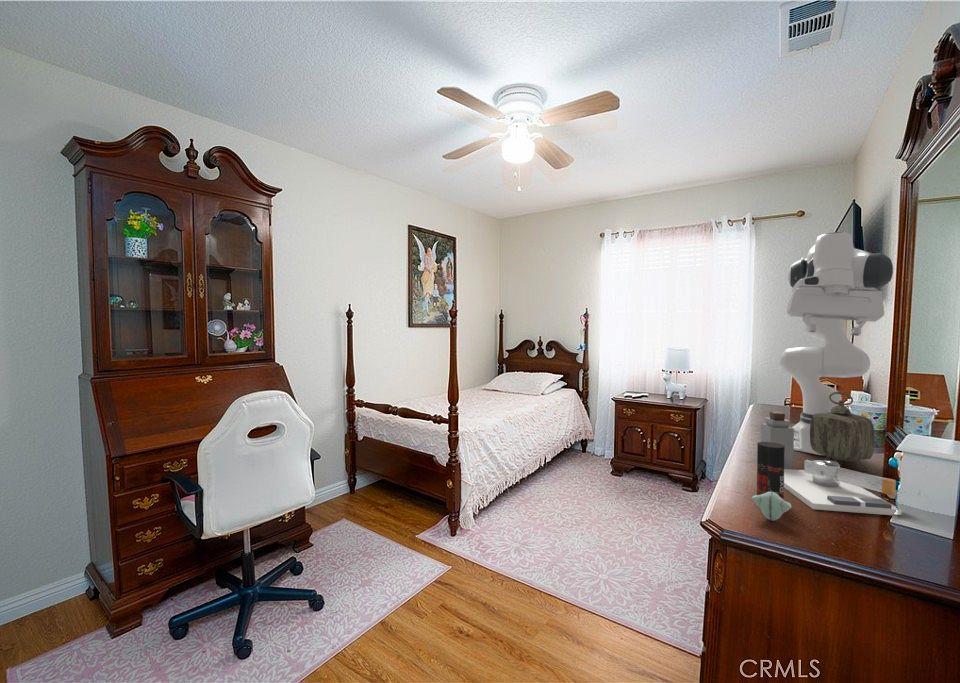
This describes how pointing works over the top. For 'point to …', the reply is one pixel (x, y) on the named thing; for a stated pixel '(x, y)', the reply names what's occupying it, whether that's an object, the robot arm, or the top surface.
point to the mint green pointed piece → (771, 505)
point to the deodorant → (770, 468)
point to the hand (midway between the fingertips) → (833, 333)
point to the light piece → (846, 476)
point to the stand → (834, 495)
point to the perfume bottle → (779, 435)
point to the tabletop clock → (842, 434)
